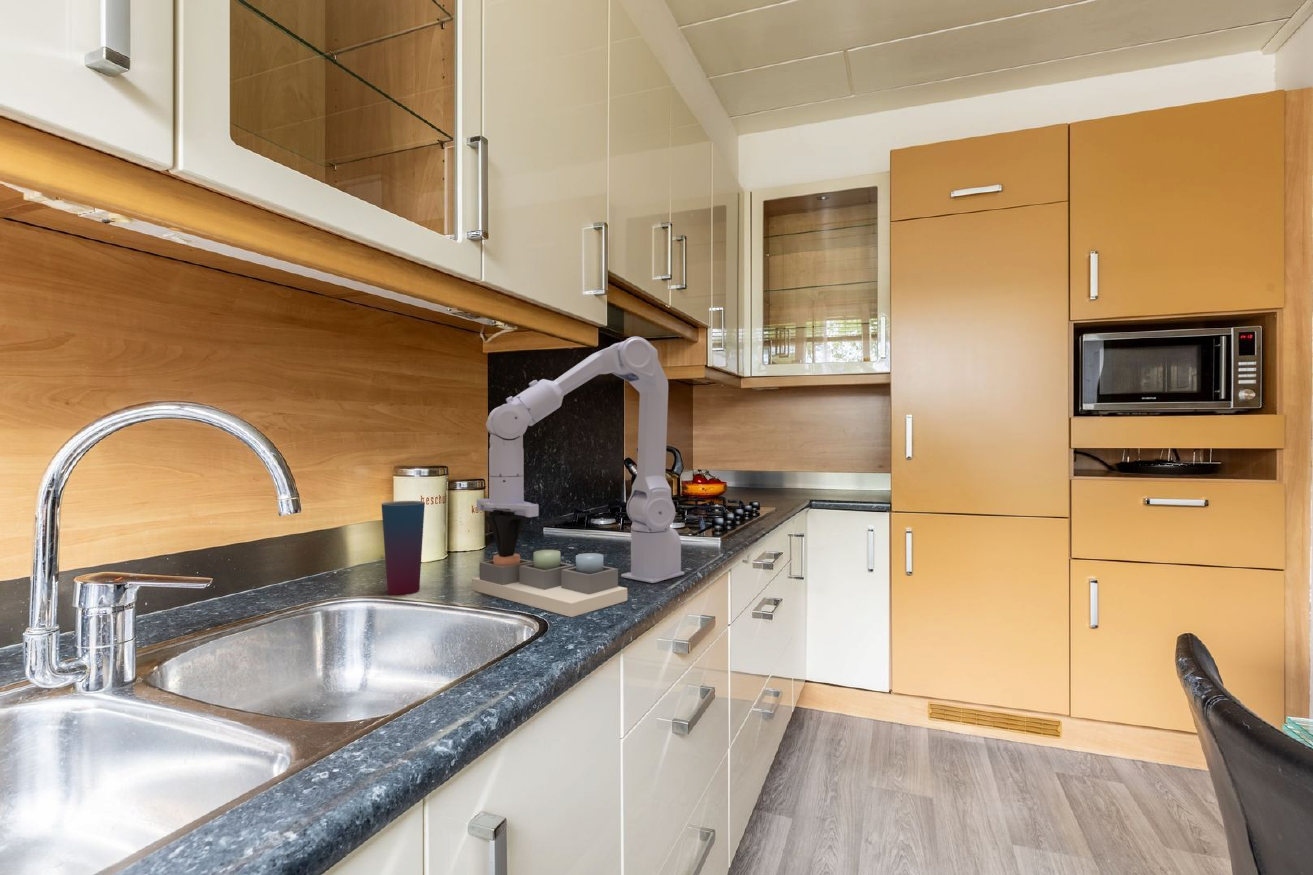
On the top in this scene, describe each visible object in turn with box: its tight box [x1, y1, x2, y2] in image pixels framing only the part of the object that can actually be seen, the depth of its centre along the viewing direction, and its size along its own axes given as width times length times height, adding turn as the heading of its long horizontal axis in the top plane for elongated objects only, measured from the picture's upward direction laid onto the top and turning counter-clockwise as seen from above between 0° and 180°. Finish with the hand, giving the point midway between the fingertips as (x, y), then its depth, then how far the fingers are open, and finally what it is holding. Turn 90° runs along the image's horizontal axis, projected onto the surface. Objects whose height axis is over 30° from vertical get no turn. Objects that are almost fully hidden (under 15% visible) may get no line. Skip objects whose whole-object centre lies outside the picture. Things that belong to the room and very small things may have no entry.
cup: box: [381, 500, 426, 596], centre depth 109 cm, size 7×7×15 cm
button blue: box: [575, 552, 604, 574], centre depth 103 cm, size 4×4×2 cm
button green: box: [532, 549, 561, 570], centre depth 106 cm, size 4×4×2 cm
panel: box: [471, 558, 628, 618], centre depth 106 cm, size 12×25×5 cm, turn 50°
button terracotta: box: [492, 553, 521, 567], centre depth 109 cm, size 4×4×2 cm
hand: (506, 555), depth 109 cm, fingers closed, pressing on button terracotta
